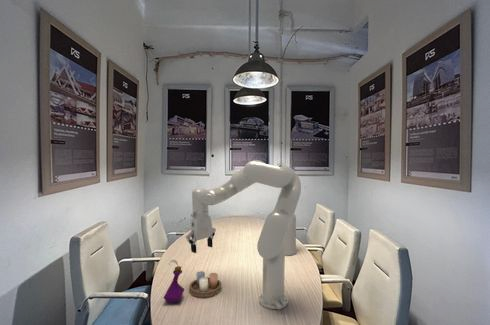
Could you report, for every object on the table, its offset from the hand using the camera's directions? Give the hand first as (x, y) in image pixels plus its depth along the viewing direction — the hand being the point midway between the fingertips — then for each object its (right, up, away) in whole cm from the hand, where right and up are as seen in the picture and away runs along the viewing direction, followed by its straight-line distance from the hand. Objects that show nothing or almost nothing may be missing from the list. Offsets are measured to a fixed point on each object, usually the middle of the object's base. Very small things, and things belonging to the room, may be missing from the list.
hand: (202, 249), depth 125 cm
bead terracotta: (+6, -18, -1) cm, 19 cm away
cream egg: (+2, -18, -6) cm, 19 cm away
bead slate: (-1, -18, +1) cm, 18 cm away
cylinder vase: (+49, -18, +47) cm, 70 cm away
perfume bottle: (-10, -19, -11) cm, 24 cm away
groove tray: (+2, -19, -2) cm, 19 cm away
